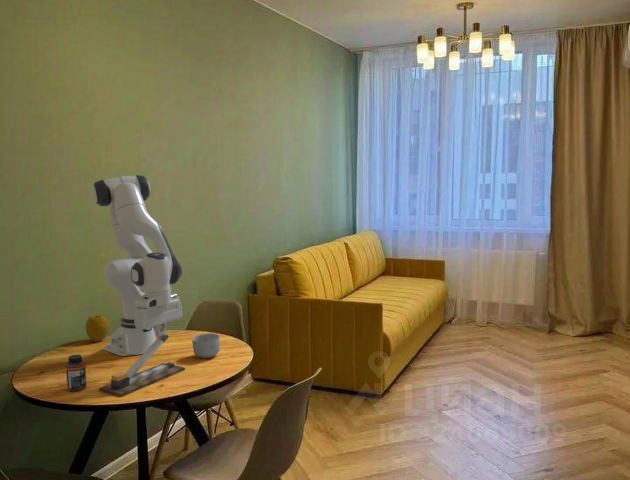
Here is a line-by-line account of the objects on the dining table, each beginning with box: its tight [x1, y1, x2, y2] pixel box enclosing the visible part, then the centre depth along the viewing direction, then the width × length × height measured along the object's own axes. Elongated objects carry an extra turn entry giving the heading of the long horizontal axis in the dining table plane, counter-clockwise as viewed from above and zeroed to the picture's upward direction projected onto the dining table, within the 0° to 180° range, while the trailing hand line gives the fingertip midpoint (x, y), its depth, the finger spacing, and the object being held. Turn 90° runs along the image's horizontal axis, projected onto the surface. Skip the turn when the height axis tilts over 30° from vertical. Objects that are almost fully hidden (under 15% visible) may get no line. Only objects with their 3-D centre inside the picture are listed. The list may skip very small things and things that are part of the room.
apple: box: [85, 314, 110, 343], centre depth 243 cm, size 10×10×12 cm
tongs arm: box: [125, 333, 169, 379], centre depth 193 cm, size 21×3×1 cm, turn 150°
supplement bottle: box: [65, 354, 87, 392], centre depth 185 cm, size 6×6×11 cm
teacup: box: [191, 332, 221, 359], centre depth 220 cm, size 14×11×8 cm
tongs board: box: [98, 361, 186, 398], centre depth 192 cm, size 29×11×4 cm, turn 150°
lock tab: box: [111, 371, 127, 381], centre depth 183 cm, size 4×3×1 cm
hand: (160, 336), depth 198 cm, fingers closed
